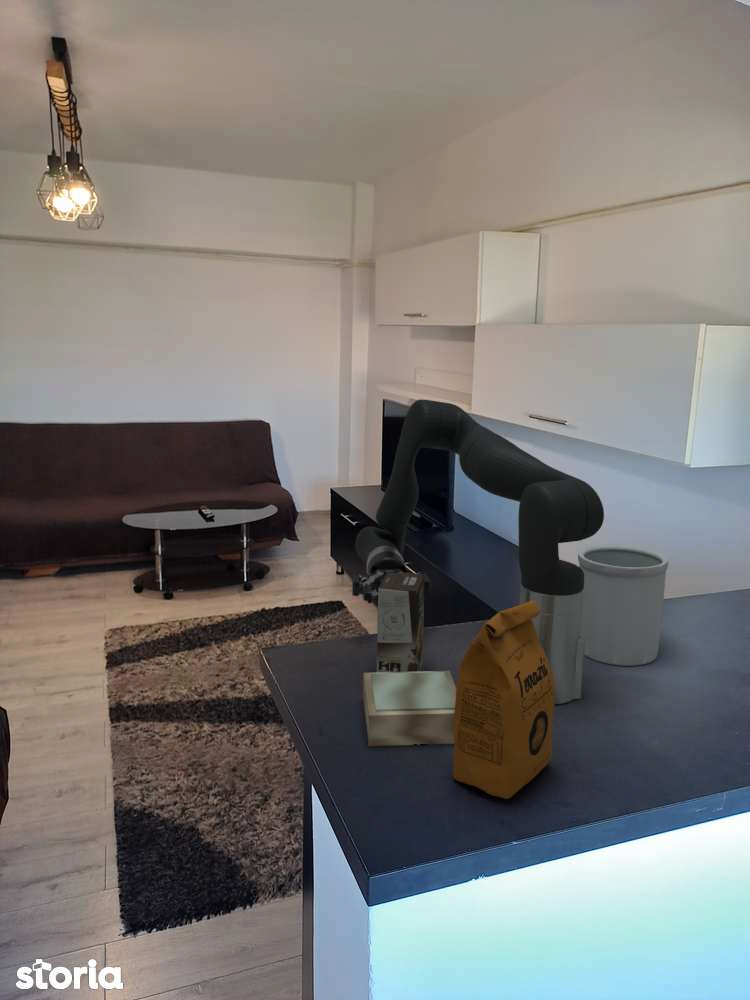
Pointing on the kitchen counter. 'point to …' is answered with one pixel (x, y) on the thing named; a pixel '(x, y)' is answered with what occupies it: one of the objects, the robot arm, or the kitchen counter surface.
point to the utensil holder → (622, 603)
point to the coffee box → (400, 623)
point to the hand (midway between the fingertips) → (394, 597)
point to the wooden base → (409, 707)
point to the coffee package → (504, 705)
